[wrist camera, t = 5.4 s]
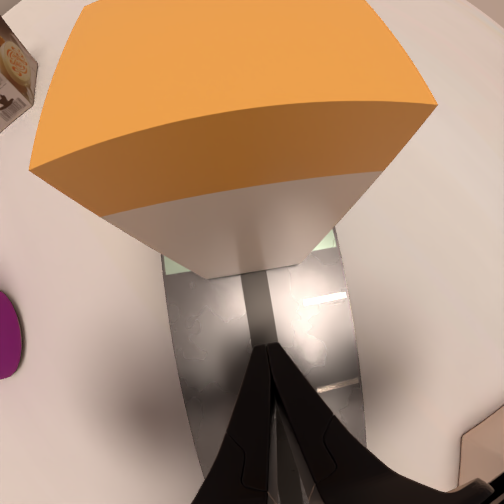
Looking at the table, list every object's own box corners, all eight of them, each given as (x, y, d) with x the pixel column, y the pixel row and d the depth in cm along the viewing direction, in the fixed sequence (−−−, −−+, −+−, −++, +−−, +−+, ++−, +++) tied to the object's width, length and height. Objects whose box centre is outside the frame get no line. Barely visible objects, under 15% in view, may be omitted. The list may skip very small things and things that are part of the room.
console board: (360, 486, 14) (368, 498, 13) (221, 510, 14) (218, 524, 13) (319, 194, 18) (324, 183, 17) (165, 219, 18) (156, 211, 17)
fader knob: (300, 263, 15) (437, 104, 3) (206, 279, 15) (28, 170, 3) (285, 193, 16) (332, -33, 3) (196, 208, 16) (84, 6, 3)
